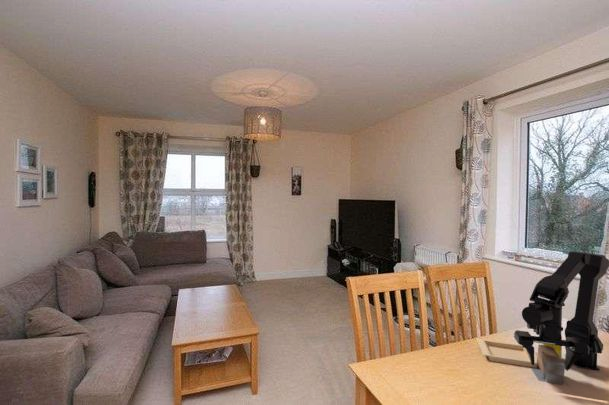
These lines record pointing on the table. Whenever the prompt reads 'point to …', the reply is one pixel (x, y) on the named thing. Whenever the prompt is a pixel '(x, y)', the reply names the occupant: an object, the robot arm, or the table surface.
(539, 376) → the coaster
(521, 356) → the tray
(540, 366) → the box
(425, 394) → the table surface
